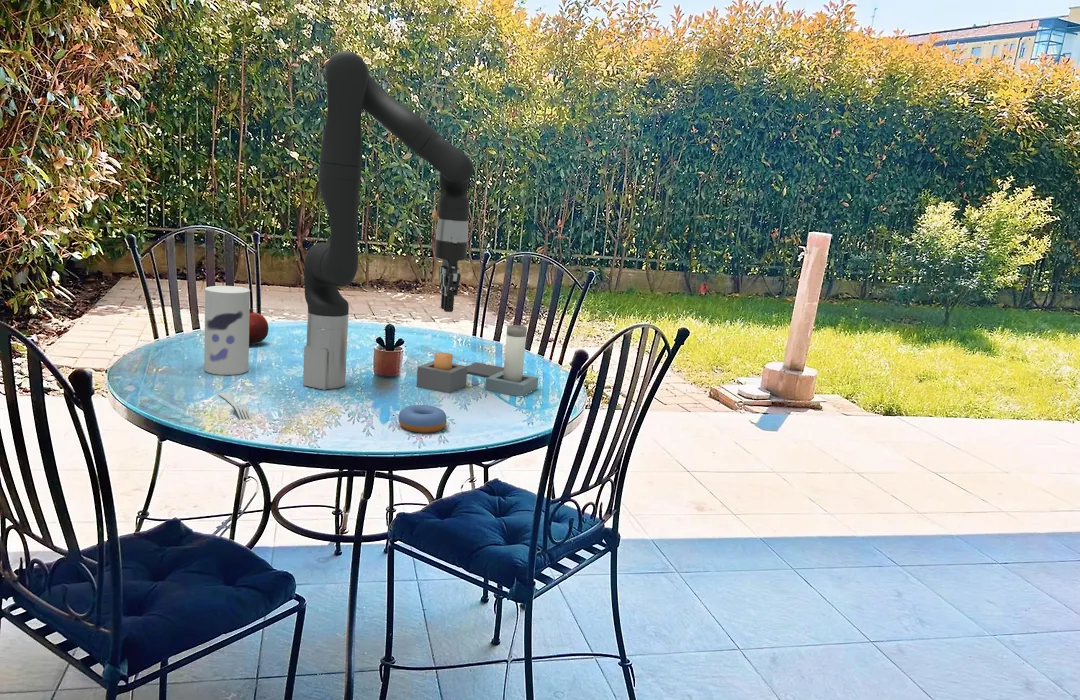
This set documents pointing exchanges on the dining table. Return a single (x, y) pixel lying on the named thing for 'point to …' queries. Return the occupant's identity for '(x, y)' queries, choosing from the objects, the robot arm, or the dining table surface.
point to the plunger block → (441, 377)
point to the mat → (483, 369)
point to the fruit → (257, 327)
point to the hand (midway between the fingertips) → (446, 310)
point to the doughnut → (422, 418)
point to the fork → (231, 401)
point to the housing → (511, 385)
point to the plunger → (443, 361)
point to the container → (226, 330)
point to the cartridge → (514, 353)
